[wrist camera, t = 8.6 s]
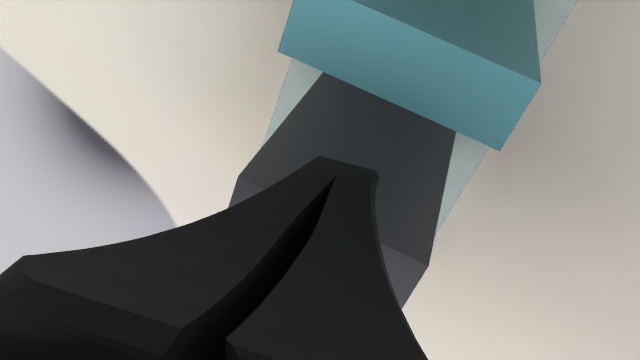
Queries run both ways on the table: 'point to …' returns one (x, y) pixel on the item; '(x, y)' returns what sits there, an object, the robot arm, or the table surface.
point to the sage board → (550, 15)
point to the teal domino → (427, 56)
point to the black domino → (367, 166)
